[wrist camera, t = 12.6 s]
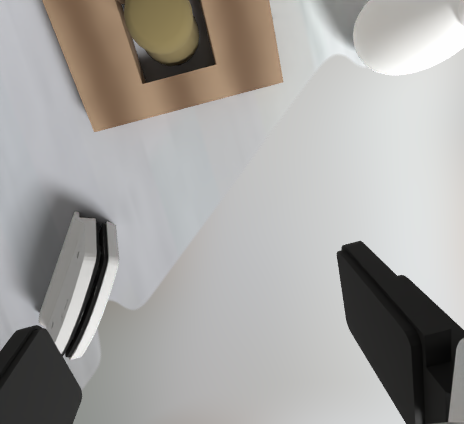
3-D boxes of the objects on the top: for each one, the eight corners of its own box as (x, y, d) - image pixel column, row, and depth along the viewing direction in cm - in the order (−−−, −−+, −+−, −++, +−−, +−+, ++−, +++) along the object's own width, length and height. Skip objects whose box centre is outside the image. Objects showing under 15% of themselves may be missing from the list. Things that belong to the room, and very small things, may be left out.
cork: (163, 78, 36) (148, 75, 25) (127, 23, 34) (94, -4, 23) (210, 44, 35) (214, 27, 25) (176, -14, 33) (165, -58, 23)
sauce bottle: (417, 51, 37) (596, 22, 20) (353, 89, 38) (475, 93, 21) (392, -22, 34) (577, -125, 17) (325, 21, 35) (438, -36, 18)
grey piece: (75, 208, 40) (76, 255, 32) (115, 217, 42) (125, 262, 34) (38, 315, 45) (31, 379, 37) (76, 317, 47) (77, 378, 39)
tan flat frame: (249, -72, 32) (253, -87, 29) (277, 82, 37) (283, 82, 34) (46, -17, 32) (31, -27, 29) (102, 128, 37) (94, 132, 34)
